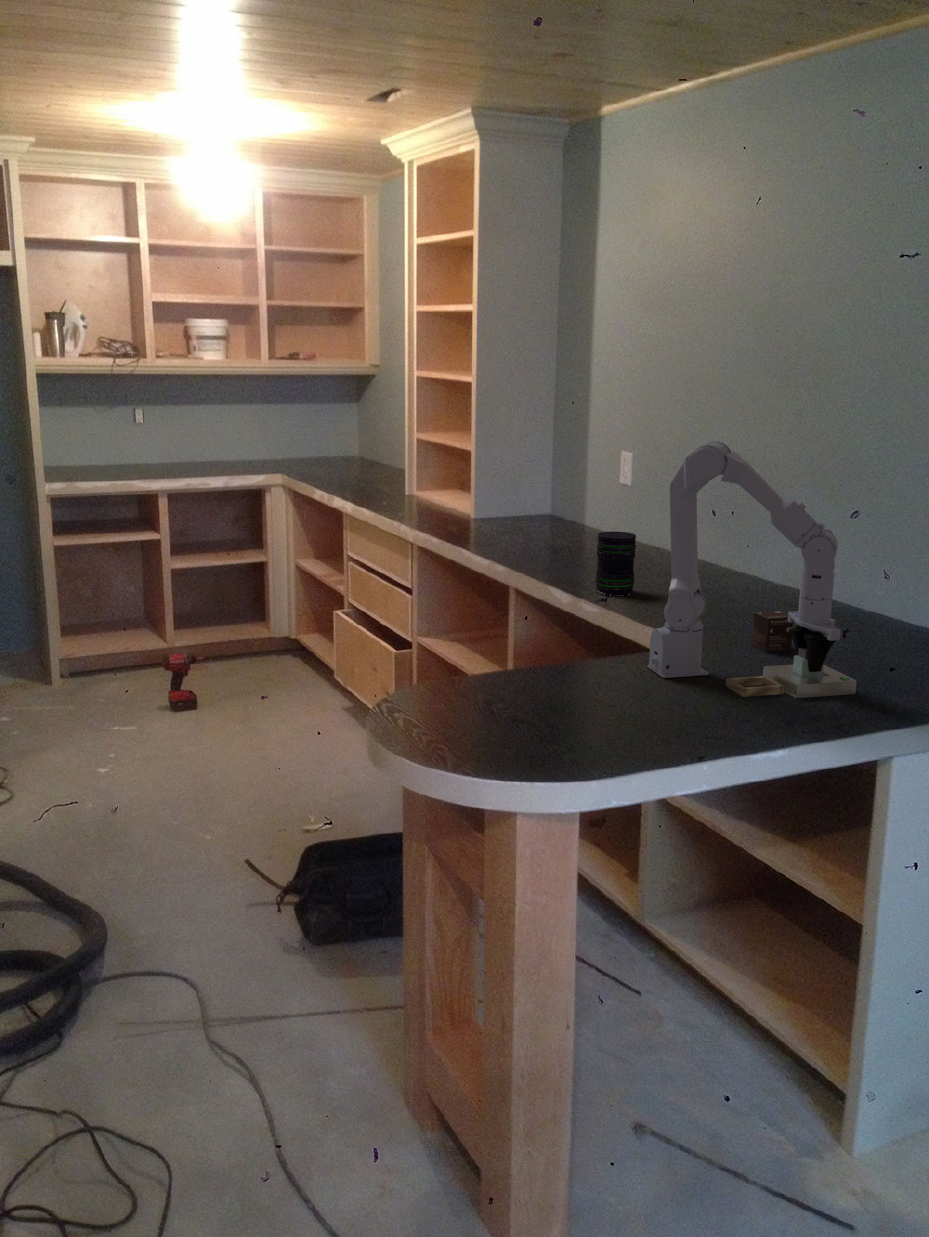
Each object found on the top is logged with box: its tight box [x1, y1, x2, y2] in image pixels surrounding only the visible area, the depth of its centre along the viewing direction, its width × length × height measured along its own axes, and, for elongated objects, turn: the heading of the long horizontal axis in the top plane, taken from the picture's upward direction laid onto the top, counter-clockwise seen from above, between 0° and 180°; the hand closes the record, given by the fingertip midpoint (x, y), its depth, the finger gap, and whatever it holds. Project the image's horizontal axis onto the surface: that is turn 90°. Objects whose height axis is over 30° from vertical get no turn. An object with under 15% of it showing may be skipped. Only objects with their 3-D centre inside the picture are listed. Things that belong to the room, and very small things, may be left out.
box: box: [751, 610, 794, 653], centre depth 231 cm, size 6×6×7 cm
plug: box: [792, 648, 825, 678], centre depth 204 cm, size 4×3×6 cm, turn 104°
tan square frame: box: [725, 675, 785, 698], centre depth 202 cm, size 8×7×2 cm
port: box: [762, 664, 857, 699], centre depth 205 cm, size 12×12×3 cm
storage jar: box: [595, 531, 637, 595], centre depth 281 cm, size 10×10×15 cm
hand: (809, 668), depth 204 cm, fingers closed on plug, 3 cm apart
